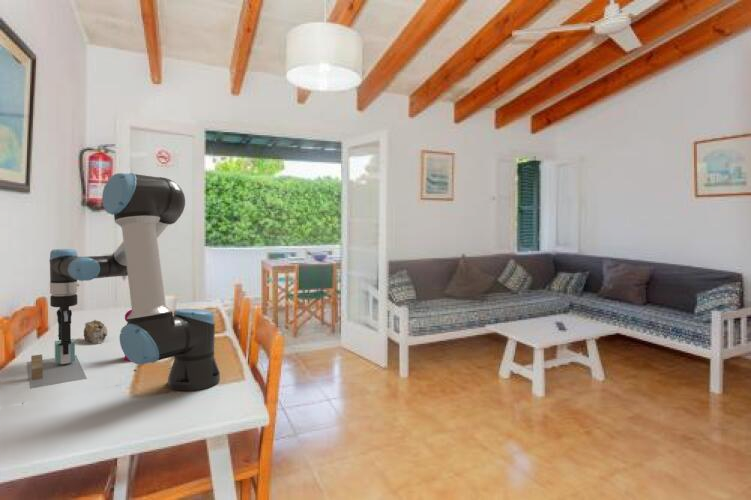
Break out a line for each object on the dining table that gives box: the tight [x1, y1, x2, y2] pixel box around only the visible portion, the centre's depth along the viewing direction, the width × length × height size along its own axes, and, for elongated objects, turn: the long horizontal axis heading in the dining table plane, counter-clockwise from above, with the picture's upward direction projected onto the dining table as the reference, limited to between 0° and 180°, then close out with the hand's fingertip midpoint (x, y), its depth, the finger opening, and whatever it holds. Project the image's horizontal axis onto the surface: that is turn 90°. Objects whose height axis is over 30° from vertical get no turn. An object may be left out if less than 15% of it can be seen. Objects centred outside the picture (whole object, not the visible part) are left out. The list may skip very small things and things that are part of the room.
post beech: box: [30, 354, 43, 380], centre depth 134 cm, size 3×3×7 cm
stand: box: [26, 354, 88, 389], centre depth 142 cm, size 30×14×1 cm, turn 40°
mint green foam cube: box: [54, 338, 76, 364], centre depth 148 cm, size 5×5×7 cm
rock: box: [83, 319, 108, 345], centre depth 179 cm, size 12×7×10 cm, turn 47°
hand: (64, 360), depth 149 cm, fingers open, 5 cm apart
